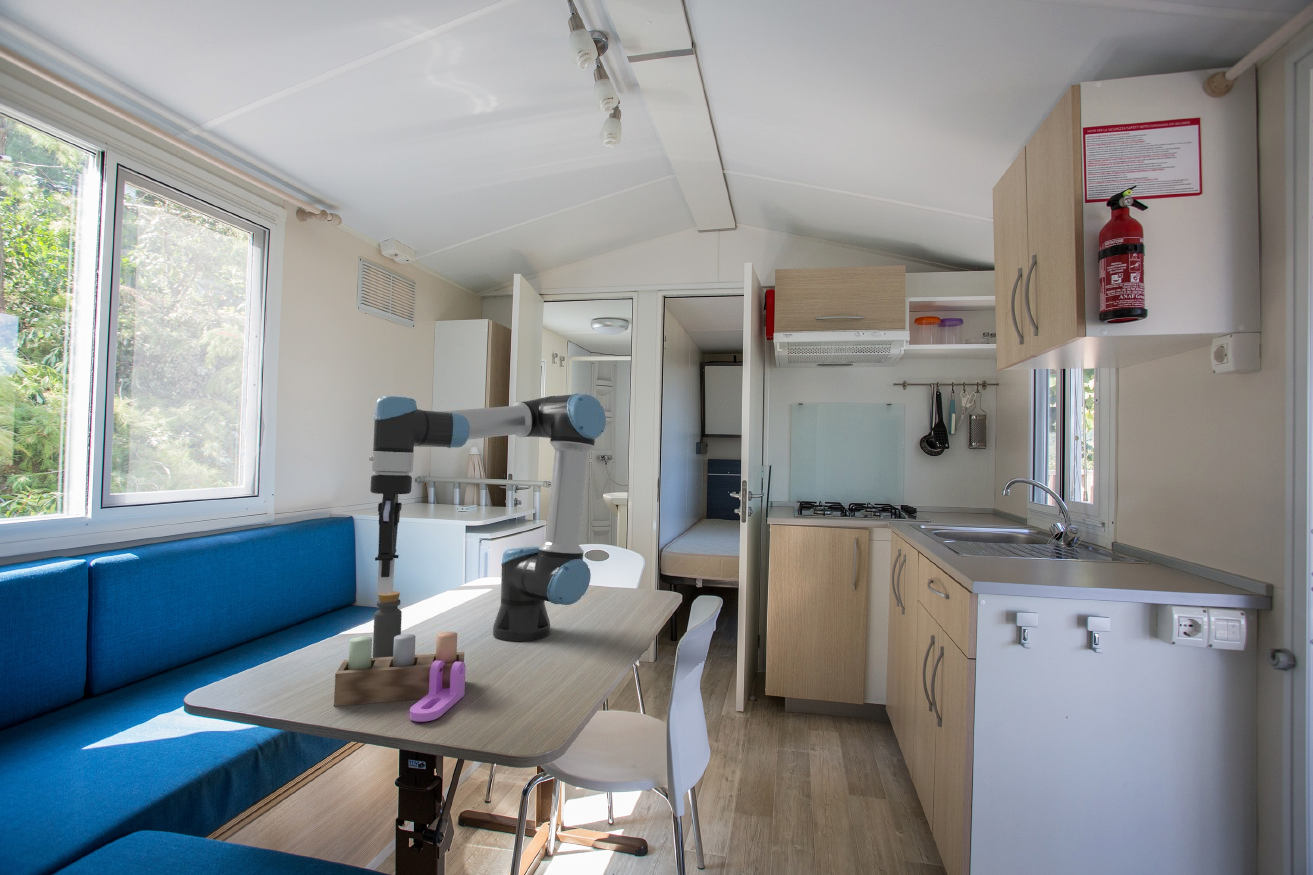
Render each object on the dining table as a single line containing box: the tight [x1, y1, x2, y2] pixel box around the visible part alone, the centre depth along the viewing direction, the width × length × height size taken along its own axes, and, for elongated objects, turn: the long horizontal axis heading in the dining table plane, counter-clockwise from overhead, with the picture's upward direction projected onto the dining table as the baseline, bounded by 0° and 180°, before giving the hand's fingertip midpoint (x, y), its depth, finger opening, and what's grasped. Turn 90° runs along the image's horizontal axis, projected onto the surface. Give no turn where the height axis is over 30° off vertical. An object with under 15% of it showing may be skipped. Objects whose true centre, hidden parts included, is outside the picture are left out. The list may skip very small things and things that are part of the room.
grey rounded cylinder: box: [393, 633, 417, 667], centre depth 119 cm, size 4×4×6 cm
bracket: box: [409, 661, 466, 722], centre depth 112 cm, size 13×6×7 cm, turn 174°
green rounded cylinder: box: [348, 635, 373, 670], centre depth 117 cm, size 4×4×6 cm
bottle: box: [372, 590, 403, 658], centre depth 139 cm, size 6×6×15 cm
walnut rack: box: [333, 651, 465, 707], centre depth 119 cm, size 23×8×6 cm, turn 107°
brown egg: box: [435, 631, 458, 663], centre depth 122 cm, size 4×4×6 cm
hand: (384, 592), depth 118 cm, fingers closed
